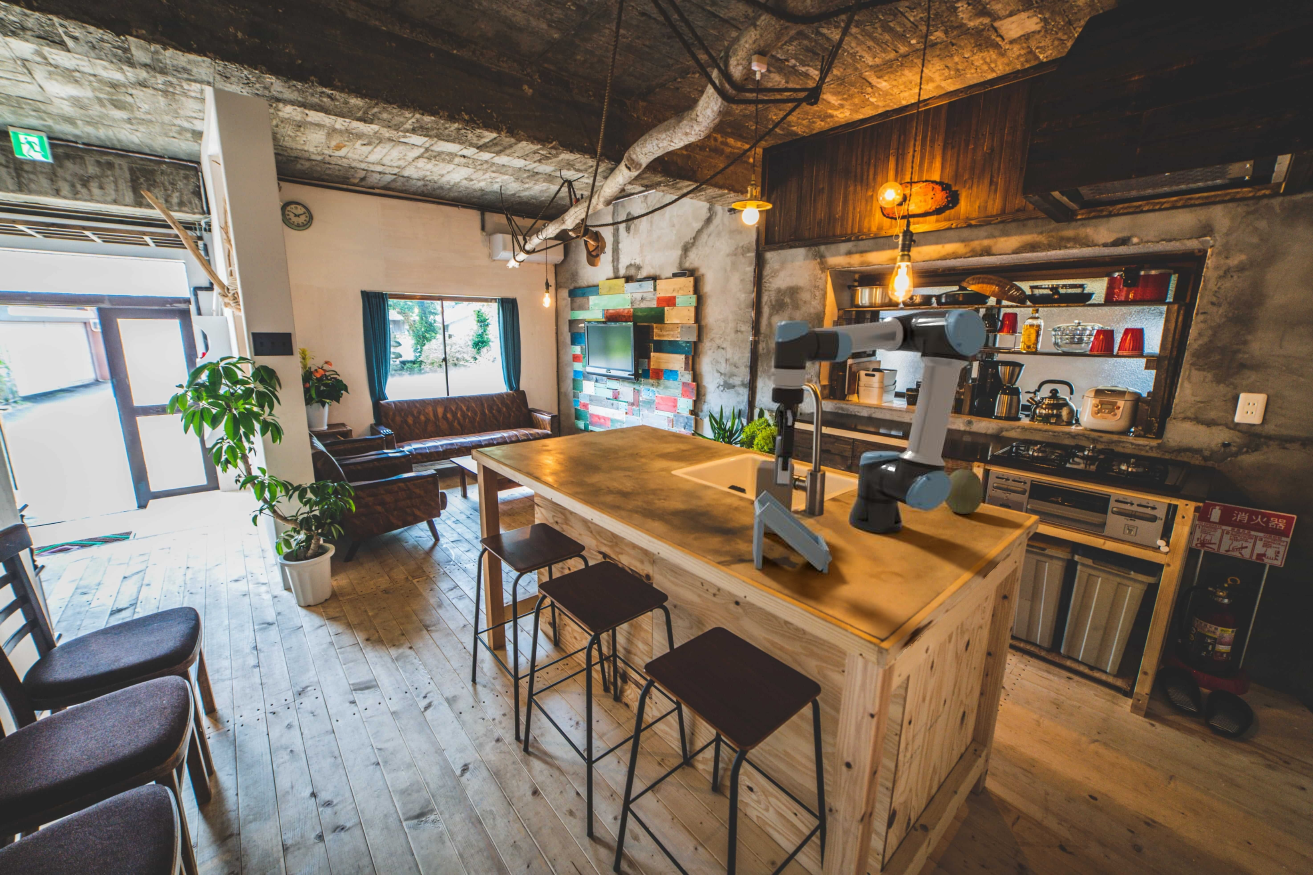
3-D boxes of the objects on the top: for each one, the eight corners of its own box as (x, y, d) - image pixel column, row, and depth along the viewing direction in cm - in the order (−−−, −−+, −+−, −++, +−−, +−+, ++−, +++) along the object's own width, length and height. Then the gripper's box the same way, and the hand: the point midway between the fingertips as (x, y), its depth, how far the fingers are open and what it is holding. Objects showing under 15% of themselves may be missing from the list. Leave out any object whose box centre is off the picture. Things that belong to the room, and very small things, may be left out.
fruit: (935, 511, 171) (940, 468, 168) (947, 504, 178) (953, 463, 175) (973, 521, 163) (980, 475, 160) (984, 513, 170) (991, 469, 167)
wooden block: (790, 525, 157) (794, 462, 153) (787, 536, 148) (792, 470, 144) (757, 521, 160) (761, 459, 156) (753, 532, 151) (756, 466, 147)
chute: (822, 555, 136) (828, 493, 132) (831, 573, 125) (837, 506, 122) (751, 551, 138) (754, 490, 134) (754, 568, 127) (757, 502, 124)
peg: (788, 482, 130) (791, 436, 127) (790, 487, 126) (794, 439, 123) (772, 481, 130) (775, 435, 128) (774, 486, 126) (777, 438, 124)
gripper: (768, 383, 132) (763, 471, 136) (776, 389, 115) (770, 489, 120) (798, 384, 131) (792, 472, 135) (810, 390, 114) (803, 491, 119)
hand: (782, 480), depth 128 cm, fingers closed on peg, 4 cm apart
